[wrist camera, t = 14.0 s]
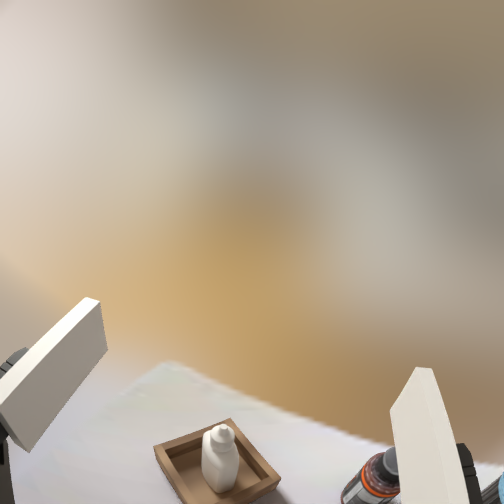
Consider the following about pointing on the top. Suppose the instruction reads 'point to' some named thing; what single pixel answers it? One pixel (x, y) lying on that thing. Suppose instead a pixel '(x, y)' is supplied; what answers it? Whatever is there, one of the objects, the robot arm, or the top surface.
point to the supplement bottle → (374, 481)
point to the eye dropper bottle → (220, 458)
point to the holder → (191, 477)
